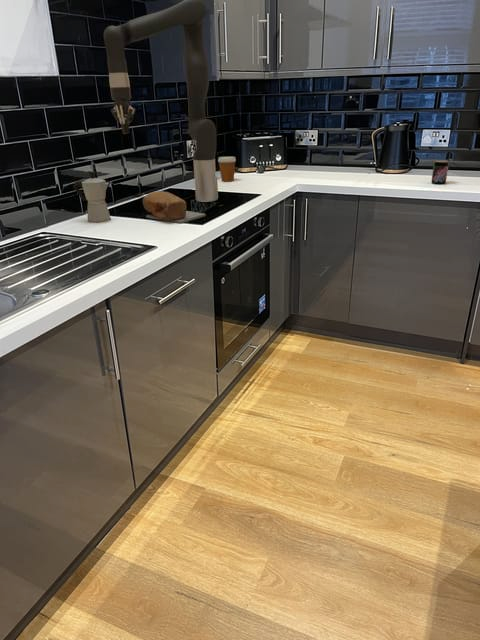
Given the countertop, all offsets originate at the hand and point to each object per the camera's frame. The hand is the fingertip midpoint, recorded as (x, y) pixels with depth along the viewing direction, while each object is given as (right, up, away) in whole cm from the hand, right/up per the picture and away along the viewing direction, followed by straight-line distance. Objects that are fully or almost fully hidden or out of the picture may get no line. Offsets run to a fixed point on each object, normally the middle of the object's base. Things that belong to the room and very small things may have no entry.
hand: (126, 133), depth 195 cm
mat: (+21, -35, -9) cm, 42 cm away
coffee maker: (-9, -37, -11) cm, 40 cm away
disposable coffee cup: (+39, -1, +62) cm, 74 cm away
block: (+12, -28, -4) cm, 31 cm away
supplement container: (+143, -9, +41) cm, 149 cm away
